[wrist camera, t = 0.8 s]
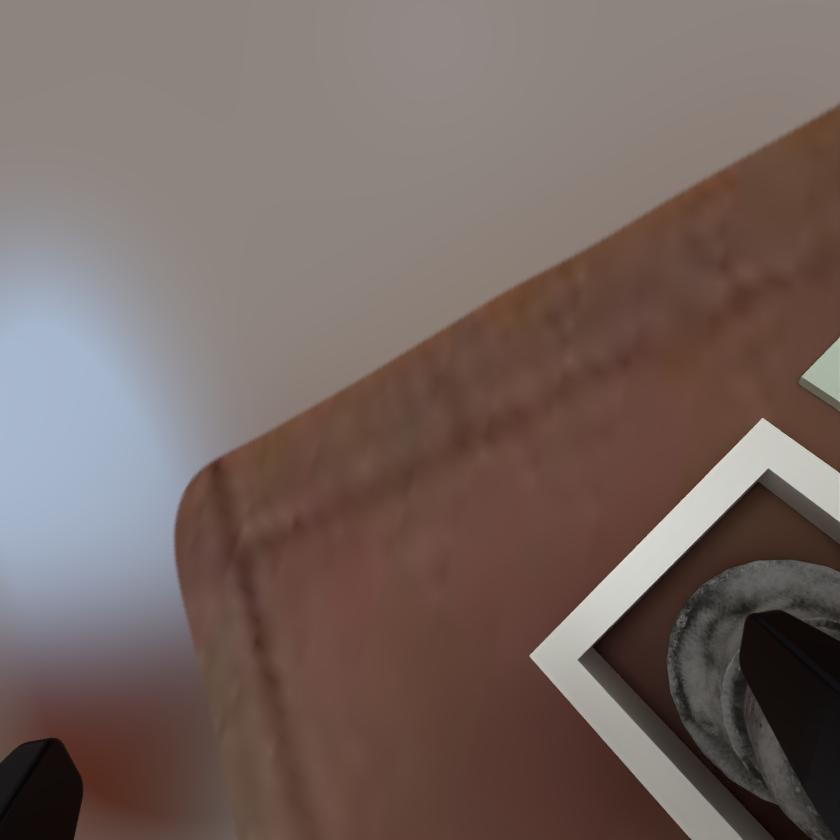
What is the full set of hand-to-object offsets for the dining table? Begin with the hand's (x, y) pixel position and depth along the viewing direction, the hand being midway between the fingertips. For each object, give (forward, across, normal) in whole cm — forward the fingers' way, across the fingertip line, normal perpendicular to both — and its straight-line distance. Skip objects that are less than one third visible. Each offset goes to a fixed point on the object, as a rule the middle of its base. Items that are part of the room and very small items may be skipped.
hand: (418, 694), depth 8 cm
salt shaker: (+6, -11, +9) cm, 15 cm away
